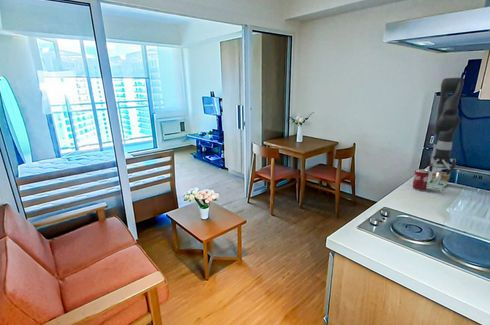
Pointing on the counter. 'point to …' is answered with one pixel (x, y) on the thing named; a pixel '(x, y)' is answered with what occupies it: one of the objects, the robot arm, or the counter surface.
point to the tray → (437, 184)
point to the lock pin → (438, 177)
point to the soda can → (420, 179)
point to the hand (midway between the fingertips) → (438, 173)
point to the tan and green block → (442, 176)
